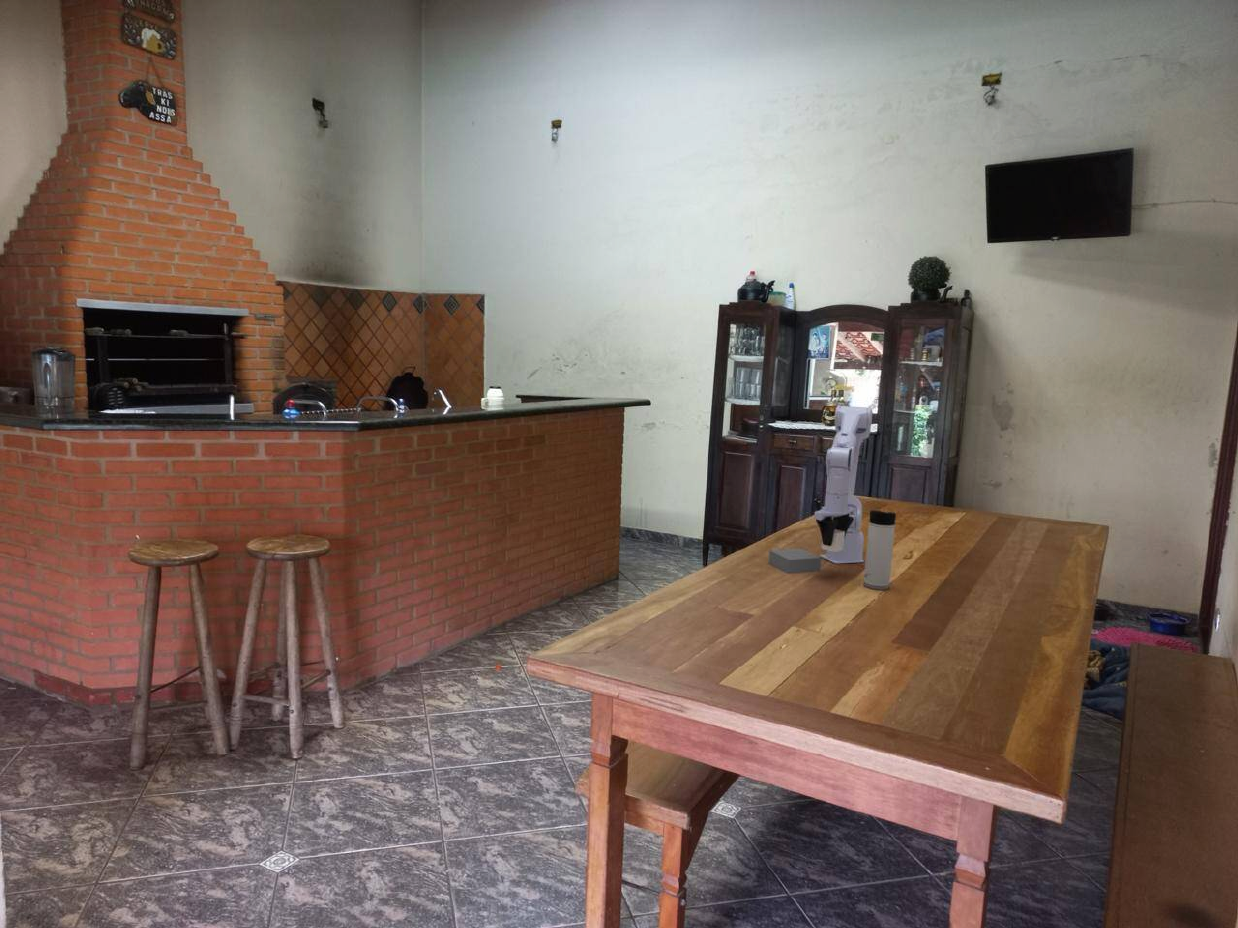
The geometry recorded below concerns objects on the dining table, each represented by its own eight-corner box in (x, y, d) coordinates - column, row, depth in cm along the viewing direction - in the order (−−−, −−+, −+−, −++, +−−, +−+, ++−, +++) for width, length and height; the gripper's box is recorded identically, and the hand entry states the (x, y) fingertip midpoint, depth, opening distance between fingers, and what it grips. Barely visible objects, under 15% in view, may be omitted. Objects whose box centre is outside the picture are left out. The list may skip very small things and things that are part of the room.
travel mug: (860, 587, 196) (867, 510, 193) (865, 581, 202) (872, 506, 199) (886, 592, 193) (894, 513, 190) (890, 585, 199) (898, 509, 196)
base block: (799, 562, 219) (800, 548, 218) (820, 572, 210) (821, 557, 209) (768, 564, 215) (769, 550, 215) (788, 574, 206) (789, 560, 206)
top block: (843, 549, 204) (844, 531, 203) (835, 552, 201) (836, 533, 200) (829, 546, 206) (831, 528, 206) (821, 548, 204) (823, 530, 203)
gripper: (841, 488, 209) (837, 537, 211) (806, 492, 200) (802, 543, 202) (864, 492, 203) (859, 543, 205) (829, 497, 195) (824, 550, 197)
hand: (832, 543), depth 203 cm, fingers closed on top block, 4 cm apart
